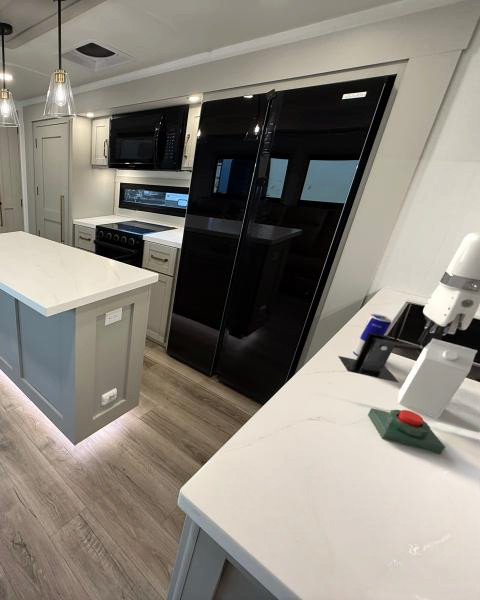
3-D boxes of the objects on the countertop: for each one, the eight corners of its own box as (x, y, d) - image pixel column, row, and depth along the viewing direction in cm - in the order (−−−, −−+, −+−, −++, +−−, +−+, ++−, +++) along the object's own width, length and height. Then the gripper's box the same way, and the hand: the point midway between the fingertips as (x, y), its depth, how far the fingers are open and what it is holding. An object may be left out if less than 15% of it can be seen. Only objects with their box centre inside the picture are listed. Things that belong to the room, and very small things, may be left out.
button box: (419, 428, 73) (428, 415, 71) (440, 454, 66) (450, 441, 64) (367, 414, 76) (374, 402, 75) (381, 438, 69) (389, 425, 68)
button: (414, 418, 71) (418, 412, 70) (423, 429, 68) (427, 423, 67) (394, 413, 72) (398, 407, 71) (402, 424, 69) (406, 418, 68)
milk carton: (397, 394, 84) (432, 333, 77) (434, 408, 80) (475, 345, 72) (396, 406, 79) (433, 343, 72) (436, 422, 75) (479, 356, 67)
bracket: (383, 368, 95) (400, 335, 91) (397, 385, 88) (417, 350, 83) (336, 358, 99) (351, 326, 95) (346, 374, 92) (362, 340, 87)
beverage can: (358, 361, 98) (378, 319, 92) (348, 352, 103) (366, 312, 97) (375, 363, 98) (397, 321, 92) (365, 354, 102) (384, 314, 96)
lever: (427, 353, 87) (431, 343, 86) (433, 358, 84) (438, 348, 83) (369, 344, 92) (372, 335, 91) (373, 349, 89) (377, 340, 88)
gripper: (507, 295, 70) (462, 362, 78) (463, 276, 83) (428, 335, 90) (463, 289, 73) (424, 354, 80) (427, 272, 86) (396, 329, 93)
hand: (426, 344), depth 85 cm, fingers closed
